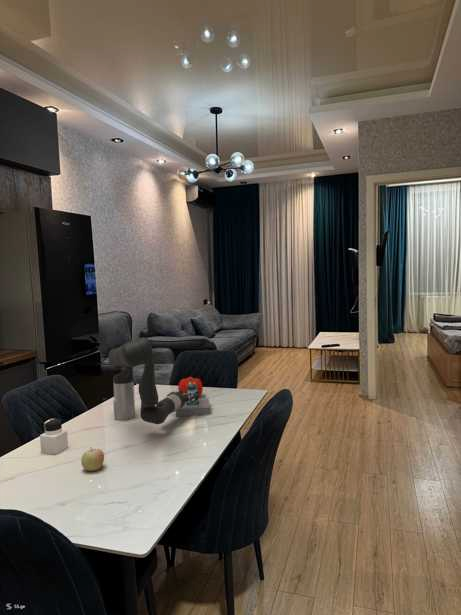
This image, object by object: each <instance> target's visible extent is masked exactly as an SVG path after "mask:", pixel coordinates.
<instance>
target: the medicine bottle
mask: <svg viewBox="0 0 461 615" xmlns="http://www.w3.org/2000/svg"><path fill="white" fill-rule="evenodd" d="M68 439H69V438H68V430H66V429H63V426H62V420H61V419H59V418H51V419H48V420H46V421H45V422H44V432H43V433H42V434H40V435H39V442H40V443H39V444H40V453H41V454H47V455H53V456H55V455H59V454H60V453H61V452H64V451H65V450H66V449H68V448H69V440H68Z"/></svg>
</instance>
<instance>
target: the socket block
mask: <svg viewBox="0 0 461 615" xmlns="http://www.w3.org/2000/svg"><path fill="white" fill-rule="evenodd" d="M197 404H198V405H188V401H187V402H185V404H184V406H183V407H181V408H180V409H178V410H177V411H175V417H176V418H177V417H178V418H179V417H180V418H181V417H193V416H209V415H211V406H210V401H209V397H199V399H198V400H197Z"/></svg>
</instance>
